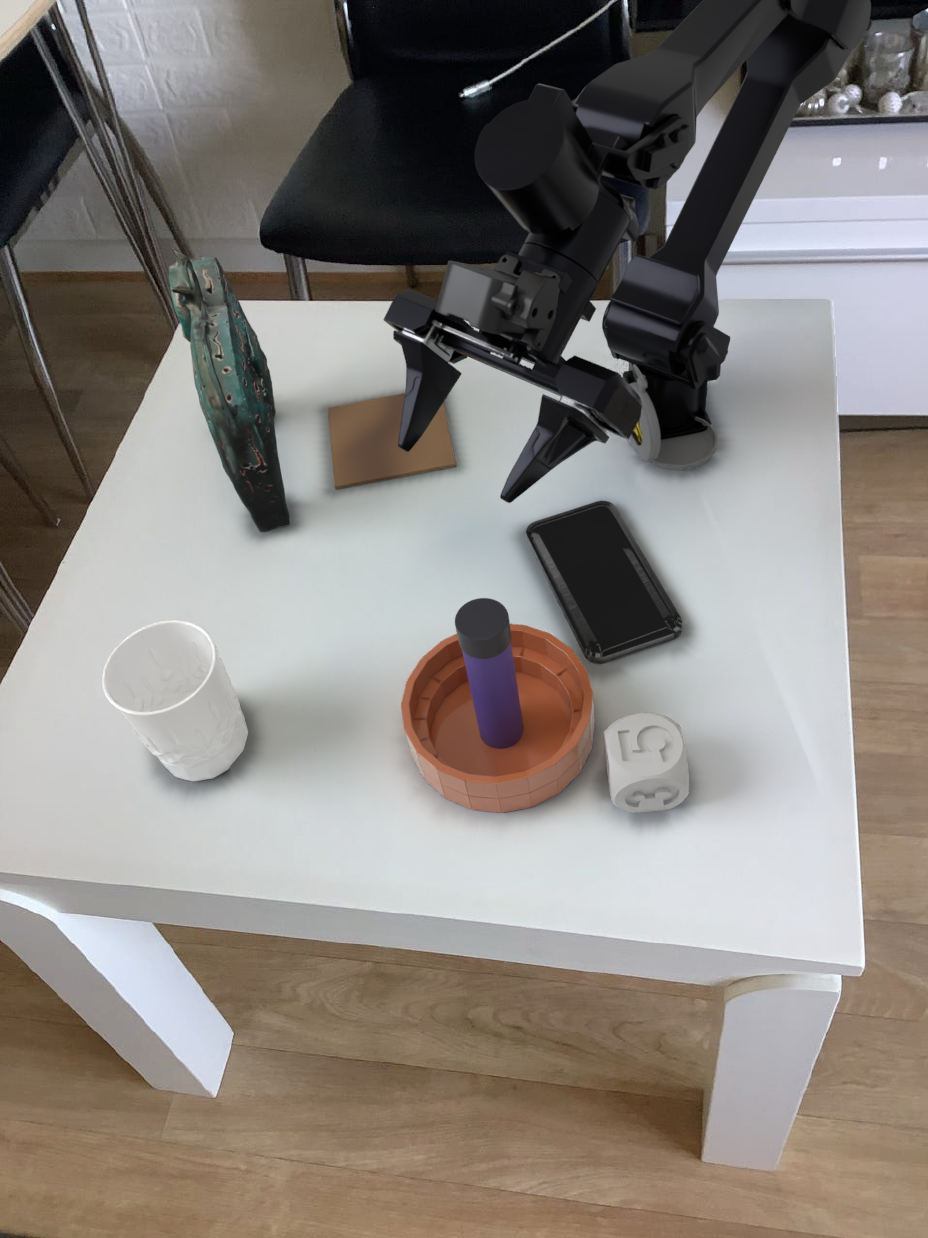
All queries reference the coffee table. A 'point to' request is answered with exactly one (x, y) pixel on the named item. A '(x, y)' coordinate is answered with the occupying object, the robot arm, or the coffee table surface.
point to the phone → (603, 582)
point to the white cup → (177, 698)
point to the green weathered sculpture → (231, 385)
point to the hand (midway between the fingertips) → (452, 474)
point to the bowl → (549, 714)
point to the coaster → (383, 443)
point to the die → (646, 763)
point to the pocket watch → (672, 450)
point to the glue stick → (490, 670)
